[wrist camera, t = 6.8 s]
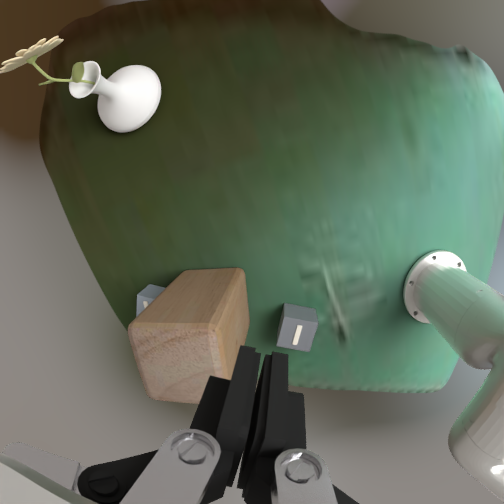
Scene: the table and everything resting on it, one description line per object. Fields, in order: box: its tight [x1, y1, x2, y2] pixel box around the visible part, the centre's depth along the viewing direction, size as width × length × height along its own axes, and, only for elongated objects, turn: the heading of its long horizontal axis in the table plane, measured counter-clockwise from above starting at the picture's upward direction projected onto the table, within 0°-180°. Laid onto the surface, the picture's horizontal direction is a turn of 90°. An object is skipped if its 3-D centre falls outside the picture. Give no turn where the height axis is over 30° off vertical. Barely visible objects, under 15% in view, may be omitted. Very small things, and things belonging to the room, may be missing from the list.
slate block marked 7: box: [136, 284, 165, 317], centre depth 46 cm, size 5×5×5 cm
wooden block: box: [128, 268, 250, 404], centre depth 38 cm, size 10×10×20 cm
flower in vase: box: [0, 36, 161, 132], centre depth 29 cm, size 13×11×25 cm
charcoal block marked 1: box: [277, 303, 318, 352], centre depth 45 cm, size 5×5×5 cm
